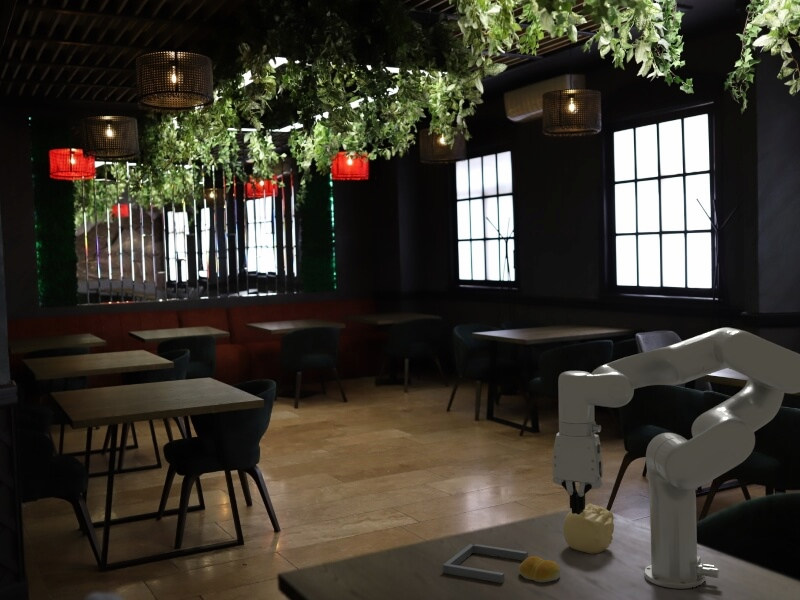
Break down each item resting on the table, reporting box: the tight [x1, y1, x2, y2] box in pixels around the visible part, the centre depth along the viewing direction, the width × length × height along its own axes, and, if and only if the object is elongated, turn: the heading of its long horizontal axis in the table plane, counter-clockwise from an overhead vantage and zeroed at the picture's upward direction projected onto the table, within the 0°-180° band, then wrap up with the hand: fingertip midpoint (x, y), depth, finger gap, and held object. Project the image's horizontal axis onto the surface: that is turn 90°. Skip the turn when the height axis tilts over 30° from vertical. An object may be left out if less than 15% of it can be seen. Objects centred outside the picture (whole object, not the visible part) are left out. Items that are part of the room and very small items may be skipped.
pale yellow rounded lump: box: [562, 503, 615, 554], centre depth 200 cm, size 12×12×11 cm
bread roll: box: [518, 555, 561, 583], centre depth 185 cm, size 8×9×4 cm
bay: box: [442, 543, 529, 584], centre depth 192 cm, size 15×15×2 cm
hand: (577, 512), depth 180 cm, fingers closed
